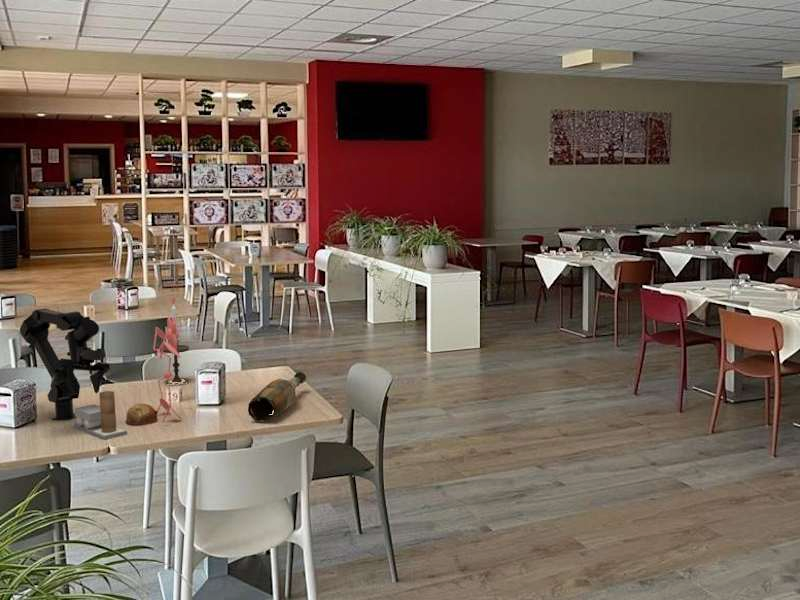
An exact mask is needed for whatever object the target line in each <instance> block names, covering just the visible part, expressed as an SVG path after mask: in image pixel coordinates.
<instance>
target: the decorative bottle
mask: <svg viewBox="0 0 800 600" xmlns="http://www.w3.org/2000/svg"><path fill="white" fill-rule="evenodd" d="M306 380H307V375H306V374H305V373H304V372H302V371H297V372H296V373H295V374H294V377H292V378H291V379H289V380H287V379H284V378H278V379H274V380H272V381H271V382H269V383H268V384H267V385H266V386H265V387H264V388H262V389H261V390H260V392H258V393H257V394H256V395H255V396H254V397H253V398H252V399H251V400H250V401H249V403H248V407H247V413H248V416H250V418H252V419H253V420H254V421H255V422H258V423H260V424H264V423H265V424H266V423H267V422H270V421H271V420H273V418H275V417H276V416H277V417H278V415H280V414H281V413H283V412H284V411H285V410H287V408H289V407H290V406H291V405H292V404H293V403H294V401H295V399H296V388H297V387H299V386H300V385H301V384H302V385H303V383H305V382H306ZM273 410H274V413H273V415H269V414H272V411H273Z"/></svg>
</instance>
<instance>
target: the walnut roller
mask: <svg viewBox="0 0 800 600" xmlns="http://www.w3.org/2000/svg"><path fill="white" fill-rule="evenodd" d="M98 393H99V394H98V396H99V406H100V413H101V429H102V432H103V433H110V432H115V431H116V427H117V418H116V417H117V416H116V415H117V413H116V401H115V400H116V399H115V391H114V390H105V391H104V390H103V391H101V392H98Z"/></svg>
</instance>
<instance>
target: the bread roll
mask: <svg viewBox="0 0 800 600" xmlns="http://www.w3.org/2000/svg"><path fill="white" fill-rule="evenodd" d="M125 417H126V418H125V423H126V424H128V425H130V426H135V427H136V426H137V427H138V426H145V425H149V424H150V425H151V424H153V423H155V422H156V421H157V420H158V414H157V410H156V409H155V408H154V407H153V406H151V405H150V404H148V403H147V404H146V403H135V404H134V405H132V406H130V408H128V410H127V411H126V415H125Z"/></svg>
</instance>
